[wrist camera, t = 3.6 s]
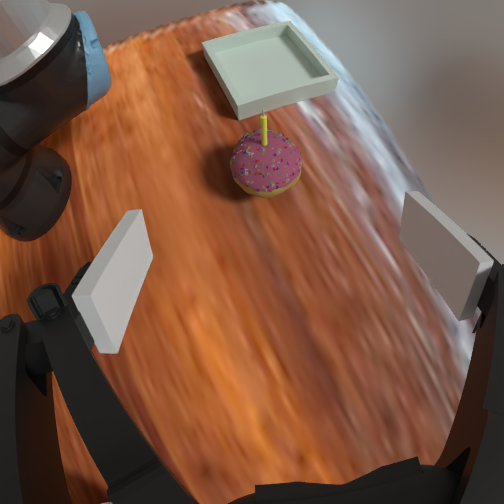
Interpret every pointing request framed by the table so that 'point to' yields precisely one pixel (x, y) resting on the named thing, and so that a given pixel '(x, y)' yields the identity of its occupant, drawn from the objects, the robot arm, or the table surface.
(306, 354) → the table surface
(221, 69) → the tray
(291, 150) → the cupcake
